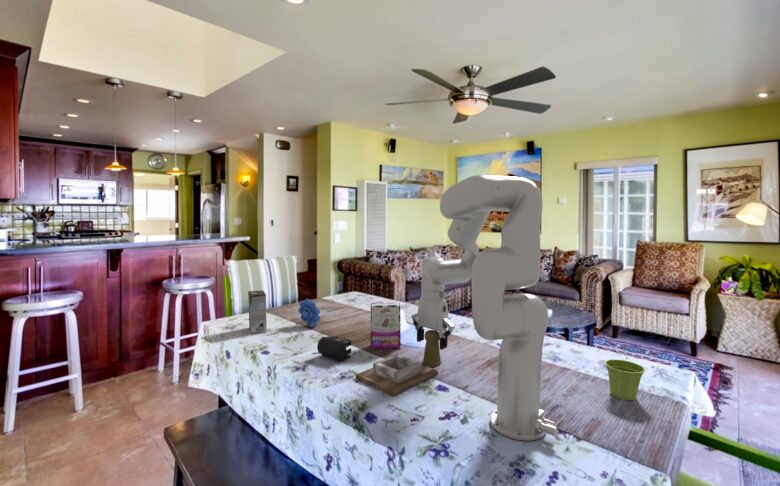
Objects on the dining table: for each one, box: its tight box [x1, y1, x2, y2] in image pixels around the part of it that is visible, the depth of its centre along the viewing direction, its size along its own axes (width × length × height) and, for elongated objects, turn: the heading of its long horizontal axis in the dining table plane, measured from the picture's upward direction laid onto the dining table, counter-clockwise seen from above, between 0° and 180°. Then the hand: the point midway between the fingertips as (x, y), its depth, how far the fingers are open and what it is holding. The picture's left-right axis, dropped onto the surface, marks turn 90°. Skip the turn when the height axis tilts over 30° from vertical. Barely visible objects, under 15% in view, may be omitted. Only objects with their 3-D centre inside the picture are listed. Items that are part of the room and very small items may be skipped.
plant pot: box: [604, 359, 646, 401], centre depth 106 cm, size 9×9×9 cm
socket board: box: [355, 353, 439, 397], centre depth 118 cm, size 16×20×4 cm
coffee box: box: [248, 290, 267, 334], centre depth 163 cm, size 9×6×16 cm
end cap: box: [316, 335, 352, 361], centre depth 133 cm, size 10×7×7 cm
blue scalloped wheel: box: [297, 298, 322, 327], centre depth 168 cm, size 12×7×12 cm, turn 65°
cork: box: [422, 329, 442, 367], centre depth 128 cm, size 6×6×11 cm
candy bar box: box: [370, 302, 402, 350], centre depth 143 cm, size 11×5×16 cm, turn 92°
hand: (431, 344), depth 129 cm, fingers open, 9 cm apart
